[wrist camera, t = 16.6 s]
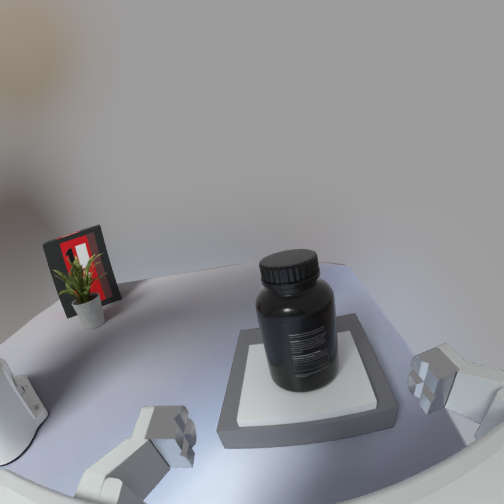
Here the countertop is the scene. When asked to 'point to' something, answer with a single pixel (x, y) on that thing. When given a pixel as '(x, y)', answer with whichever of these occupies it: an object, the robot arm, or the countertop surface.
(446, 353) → the robot arm
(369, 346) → the kitchen scale
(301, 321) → the supplement bottle
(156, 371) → the countertop surface
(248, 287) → the countertop surface
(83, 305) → the house plant
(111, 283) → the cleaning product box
